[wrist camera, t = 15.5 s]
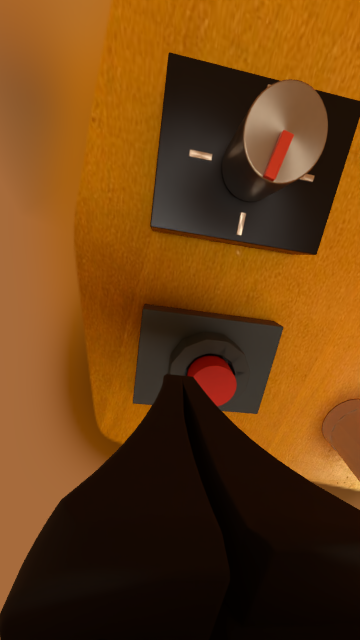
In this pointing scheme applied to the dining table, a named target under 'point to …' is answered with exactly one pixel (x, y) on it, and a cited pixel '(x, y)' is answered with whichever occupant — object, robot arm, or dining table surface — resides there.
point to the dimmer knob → (276, 141)
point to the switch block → (205, 351)
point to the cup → (345, 433)
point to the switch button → (214, 378)
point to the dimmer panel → (207, 156)
